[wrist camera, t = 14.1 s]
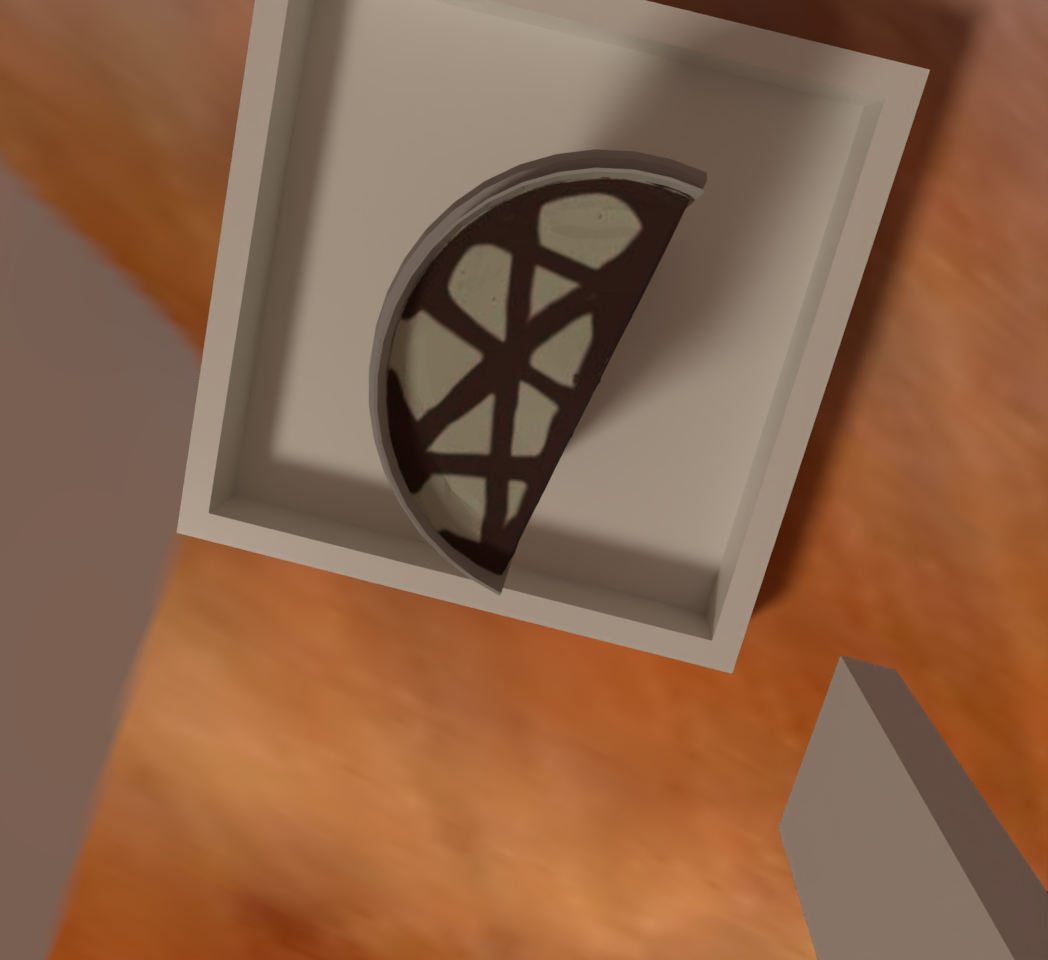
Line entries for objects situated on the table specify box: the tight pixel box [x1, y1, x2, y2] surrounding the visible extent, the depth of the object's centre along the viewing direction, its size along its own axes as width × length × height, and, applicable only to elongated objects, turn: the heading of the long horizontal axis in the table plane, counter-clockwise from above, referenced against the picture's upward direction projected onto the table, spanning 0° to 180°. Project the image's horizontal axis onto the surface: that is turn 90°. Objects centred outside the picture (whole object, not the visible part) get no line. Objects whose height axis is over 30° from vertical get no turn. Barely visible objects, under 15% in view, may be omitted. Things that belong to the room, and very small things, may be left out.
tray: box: [177, 0, 930, 673], centre depth 32 cm, size 20×20×3 cm
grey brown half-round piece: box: [369, 149, 707, 596], centre depth 28 cm, size 12×6×10 cm, turn 155°
